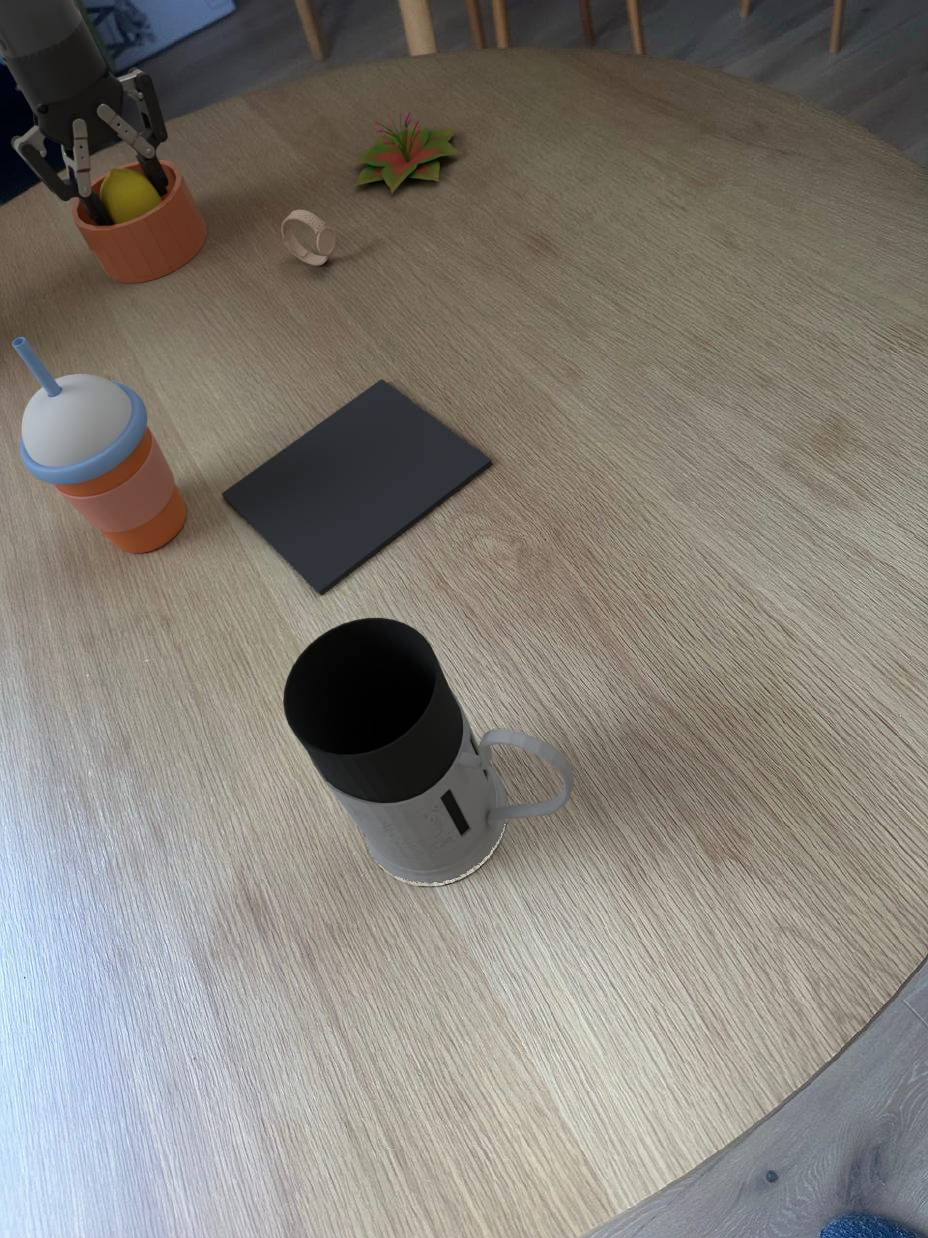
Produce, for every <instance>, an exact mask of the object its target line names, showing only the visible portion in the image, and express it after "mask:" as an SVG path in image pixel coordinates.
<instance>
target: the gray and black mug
mask: <svg viewBox="0 0 928 1238" xmlns="http://www.w3.org/2000/svg"><path fill="white" fill-rule="evenodd" d="M458 698H459V697H458V696H457V695H456V694H455V692H454V691H453V689H452V688H451V687H450V685H449V683H448V680H447V678H446V675H445V674H444V671H443V668H442V667H441V665H440V662H439V660H438V657H437V655H436V653H435V651H434V649H433V647H432V645H431V644H430V642H429V641H428V640H427V638H426V637H425V636H424V635H423V634H422V633H421V632H419V631H418V630H417V629H416V628H414V627H412V626H410V625H409V624H407V623H405V622H402V621H399V620H396V619H393V618H385V617H365V618H359V619H353V620H350V621H347V622H344V623H341V624H338V625H337V626H335V627H333V628H330V629H328V630H327V631H325V632H324V633H322V634H321V635H319V636H318V637H317V638H315V639H314V640H313V641H312V642H311V643H310V644H308V645H307V647H306V648H305V649H304V650H303V651H302V652H301V653H300V655H299V656H298V657H297V659H296V660H295V662H294V663H293V664H292V666H291V668H290V671H289V673H288V675H287V677H286V681H285V685H284V689H283V699H282V701H283V702H282V703H283V711H284V712H283V713H284V716H285V719H286V722H287V724H288V727H289V728H290V730H291V731H292V733H293V734H294V736H295V737H296V739H297V740H298V742H300V744H301V746H302V747H303V748H304V750H305V751H306V752H307V754H308V756H309V759H310V760H311V762H312V764H313V767H315V769H316V771H317V772H318V774H319V775H320V777H321V778H322V780H323V781H324V782H325V784H326V785H327V787H328V788H329V789H330V790H331V792H332V793H333V794H334V796H335V798H336V799H337V800H338V801H339V802H340V804H341V805H342V806H343V809H345V810H346V812H347V814H348V815H349V816H350V817H351V819H352V820H353V822H355V824H356V825H357V827H358V828H359V829H360V830H361V832H362V834H363V833H364V834H363V836H364V835H365V840H366V842H367V845H368V848H367V850H368V849H369V850H370V851H371V854H372V855H373V857H374V859H375V860H376V861H377V862H378V864H380V865H381V866H382V867H383V868H384V869H385V870H386V871H388V872H389V873H391V874H393V875H394V876H397V877H400V878H403V880H404V879H405V880H407V879H408V880H407V881H411V882H413V881H414V882H416V883H418V882H421V883H424V882H426V883H429V884H431V883H434V882H437V883H443V881H446V880H452V879H454V878H458V877H461V876H460V875H462V874H465V873H467V871H469V870H470V869H472V868H473V867H474V866H477V865H479V864H478V863H481V862H482V861H483V859H484V858H485V857H486V856H488V855H489V854H490V852H491V850H492V847H493V848H494V846H495V845H496V842H498V839H500V838H499V837H501V833H502V832H503V828H504V826H505V825H504V824H506V821H507V820H506V819H508V820H514V819H527V818H535V817H544V816H545V817H546V816H550V815H553V814H554V813H556V812H558V811H560V810H561V809H562V808H563V807H564V806H566V804H567V803H568V802H569V799H570V797H571V794H572V792H573V789H574V785H575V780H574V772H573V768H572V766H571V764H570V762H569V760H568V759H567V757H566V756H565V755H564V754H563V753H562V752H561V751H560V750H558V749H557V748H556V747H554V746H553V745H551V744H549V743H548V742H546V741H544V740H542V739H540V738H537V737H535V736H533V735H530V734H528V733H526V732H525V733H524V732H521V731H518V730H515V729H507V728H493V729H491V730H489V731H487V732H485V733H484V734H483V736H482V738H481V740H480V742H479V743H478V741H477V739H476V736H475V734H474V732H473V730H472V727H471V725H470V722H469V720H468V718H467V715H466V713H465V711H464V708H463V707H462V705H461V702H460V700H459V699H458ZM493 745H506V746H512V747H515V748H518V749H521V750H524V751H526V752H529V753H531V754H533V755H536V756H537V757H539V758H541V759H542V760H545V761H546V762H548V763H549V765H551V766H552V767H553V768H554V769H555V770H556V771H557V773H558V775H559V776H560V778H561V780H562V787H563V791H561V792H560V793H559V794H558V795H557V796H555V797H553V798H551V799H549V800H545V801H540V802H534V803H533V802H532V803H525V804H510V805H509V804H508V806H507V798H508V794H507V791H505V790H506V787H505V785H504V783H503V781H502V778H501V776H500V775H499V774H498V772H497V771H496V769H494V767H493V766H492V765H491V761H492V760H493V751H492V748H491V746H493ZM504 787H505V788H504ZM505 792H506V793H505ZM506 794H507V795H506ZM365 840H364V841H365ZM367 845H366V846H367ZM417 881H418V882H417Z"/></svg>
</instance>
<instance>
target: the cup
mask: <svg viewBox="0 0 928 1238" xmlns="http://www.w3.org/2000/svg"><path fill="white" fill-rule="evenodd" d="M158 160H159V162H160V164H161V166H162V168H163V170H164V172H165V174H166V176H167V178H168V184H169V185H168V186H166V189H167V192H168V193H167V194H165V195H164V196H162V197H161V196H160V197H161V200H162V202H161V203H160V204H159V205H158V206H157V207H155V208H154V209H152V210H150V211H149V212H147V213H146V214H144V215H142V216H140V217H137V218H135V219H133V220H130V221H128V222H124V223H120V224H116V225H112V226H99V225H97V224H96V223H95V222H94V221H92V220H91V219H90V217H89V215H88V214H87V212H86V210H85V209H84V207H83V205H82V203H81V202H80V200H79V198H78V197H76V198H75V200H74V201H73V204H72V208H71V211H70V213H71V218H72V221H73V223H74V224H75V226H76V228H77V230H78V231H79V233H80V235H81V236H82V238H83V240H84V241H85V243H86V245H87V246H88V248H89V250H90V251H91V253H92V255H93V257H94V258H95V260H96V261H97V264H98V265H99V267H100V269H102V271H103V272H104V273H105V275H106V276H107V277H108V278H109V279H111V280H113V281H115V282H119V283H122V284H123V283H124V284H140V283H145V282H150V281H153V280H157V279H160V278H162V277H165V276H167V275H169V274H172V273H173V272H175V271H177V270H179V269H180V268H181V267H183V266H184V265H186V264H187V263H189V262H190V261H191V260H192V259H193V258H194V257H195V256H196V255H198V253H199V252H200V250H202V248H203V247H204V244H205V242H206V241H207V237H208V227H207V224H206V222H205V220H204V217H203V215H202V213H201V211H200V209H199V207H198V205H197V203H196V200H195V199H194V196H193V193H192V192H191V190H190V188H189V186H188V183H187V181H186V179H185V177H184V175H183V173H182V171H181V168H180V167H179V166H178V165H177V164H174V163H173V162H172V161H170V160H165V159H160V158H158ZM116 168H117V169H122V168H125V169H132V170H135V171H137V172H139V173H141V174H142V175H144V176H145V174H144V172H143V170H142V168H141V166H140V164H139V162H138V160H136V161H132V162H129V163H126V164H123V165H120V166H118V167H116ZM110 171H111V170H109V171H107V172H106V173H104V174H102V175H101V176H99V177H97V178H96V179H94V180H93V181H91V188H92V190H94V191H95V192H96V193H97V195H98V196H99V198H100V189H101V185H102V183H103V181H104V179H105V177H106V176H107V175H108V174H109V173H110ZM145 177H146V176H145ZM100 200H101V199H100Z"/></svg>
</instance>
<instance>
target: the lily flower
mask: <svg viewBox="0 0 928 1238" xmlns="http://www.w3.org/2000/svg"><path fill="white" fill-rule="evenodd" d="M399 112H400V113H399V119H400V120H399V121H400V122H399V123H400V129H401V130H400V132H398V130H397V129H398V128H397V127H396V125H395V123H394V121H393V119H392V116H391V115H390V114H389V113H388V114H387V115H388V117H389V119H390V120H391V122H392V124H393V126H394V129H395V131H394V129H393V127H392V126H391V124H390V123H388V126H389V128H388V127H387V126H385V125H383V124H382V123H381V122H379V121H374V124H375V125H378V126H381V127H383V128H384V129H385V130H383V129H377V130H376V132H377V134H376V135H375V136H376V137H375V140H374V142H373V146H370V147H369V148H368V149H366V150H365V151H364V152H363V153H362V154H360V156H359V157H358V158H356V159H355V160H353V161H352V163H363V164H366V165H368V166H366V167H365V168H364V169H363V170H362V171H360V174H359V175H358V176H357V178H356V182H354V184H353V185H352V188H353V187H357V186H360V185H364V184H369V183H373V182H378V181H383V180H384V182H385V184H386V185H387V187H389V189H390V193H391V194H393V193H394V192H395V191H396V189H397V188H398V187H399V186H400V185H401V183H402V182H403V181H404V180H405V179H406V178H411V179H419V180H426V181H435V182H440V179H439V178H440V169H441V166H440V165H441V164H440V162H439V160H437V158H440V157H446V156H455V155H463V152H461V151H459V150H458V149H457V148H456V147H453V145H452V144H451V142H449V141H450V140H451V139H452V137H453V136H454V135H455V134H456V132H457V131H458V130H459V129H460V127H455V128H447V129H445V128H441V129H440V128H439V129H434V130H432V131H430V132H429V130H428V128H427V127H425V126H424V125H422V124H421V123H420V120H417V121H416V123H415V124H414V126H412V127H411V128H410V127H409V125H410V124H411V123H412V121H413V118H412V117H411V118H410V116H411V111H409V112H408V114H407V115H406V118H404V129H403V126H402V111H401V110H400V111H399ZM386 130H387V131H386ZM378 133H380V134H378ZM381 133H384V134H381Z"/></svg>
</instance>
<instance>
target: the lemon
mask: <svg viewBox="0 0 928 1238" xmlns="http://www.w3.org/2000/svg"><path fill="white" fill-rule="evenodd" d="M117 168H118V167H113V168H111V169H110V170H109V171H110V173H109V174H108V175H107V176H106V177H105V179H104V181H103V183H102V185H101V189H100V199H101V202H102V203H103V205H104V207H105V209H106V211H107V212H108V214H109V216H110V218H111V219H112V221H113V223H114V225H116V224H120V223H124V222H128V221H130V220H133V219H135V218H137V217H140V216H142V215H144V214H146V213H147V212H149V211H150V210H152V209H154V208H155V207H157V206H158V205H159V204H160V203H161V202H162V200H161V197H160V195H159V193H158V192H157V190H156V189H155V187H154V186H153V185H152V183H151V182H150V181H149V180H148V179H147V178H146V177H145V176H144V175H142V174H141V173H139V172H137V171H135V170H132V169H125V168H122V169H117Z"/></svg>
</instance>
